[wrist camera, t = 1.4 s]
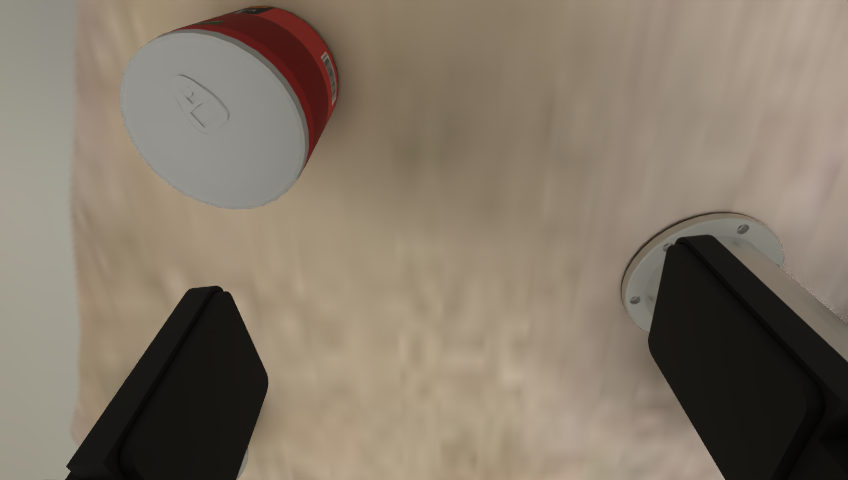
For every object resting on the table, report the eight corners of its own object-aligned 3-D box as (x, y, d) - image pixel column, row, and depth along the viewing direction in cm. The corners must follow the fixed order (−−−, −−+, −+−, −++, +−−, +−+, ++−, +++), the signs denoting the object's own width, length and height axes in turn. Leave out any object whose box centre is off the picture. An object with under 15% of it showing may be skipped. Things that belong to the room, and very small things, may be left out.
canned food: (257, -27, 25) (168, -17, 16) (366, 72, 29) (343, 129, 19) (192, 74, 28) (84, 132, 19) (296, 155, 31) (248, 239, 22)
